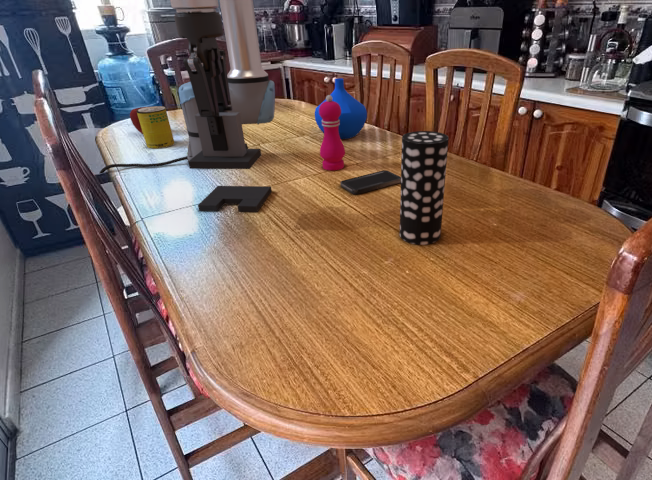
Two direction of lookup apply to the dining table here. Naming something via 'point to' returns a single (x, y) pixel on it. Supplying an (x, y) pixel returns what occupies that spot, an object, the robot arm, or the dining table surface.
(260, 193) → the notch pad
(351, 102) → the vase
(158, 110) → the yellow can
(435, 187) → the spotted tube
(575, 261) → the dining table surface
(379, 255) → the dining table surface
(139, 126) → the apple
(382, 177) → the phone
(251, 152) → the tab pad
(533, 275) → the dining table surface
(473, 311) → the dining table surface
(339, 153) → the pepper mill
